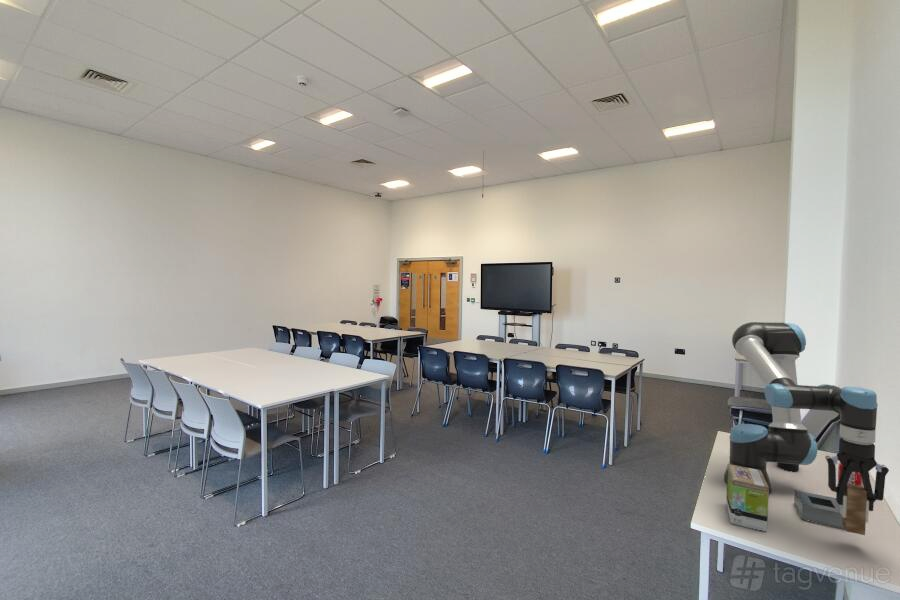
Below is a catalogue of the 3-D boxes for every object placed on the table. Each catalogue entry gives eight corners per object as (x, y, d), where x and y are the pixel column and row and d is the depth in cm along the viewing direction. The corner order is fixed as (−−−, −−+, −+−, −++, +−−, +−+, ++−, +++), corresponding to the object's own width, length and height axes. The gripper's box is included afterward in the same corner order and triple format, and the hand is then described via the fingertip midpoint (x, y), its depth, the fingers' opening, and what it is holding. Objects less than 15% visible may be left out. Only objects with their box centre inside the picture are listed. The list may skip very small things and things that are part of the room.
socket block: (801, 519, 136) (802, 504, 136) (794, 503, 146) (794, 490, 146) (850, 530, 130) (851, 515, 130) (839, 513, 140) (839, 498, 140)
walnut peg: (846, 531, 121) (848, 488, 121) (842, 524, 125) (843, 482, 124) (865, 535, 119) (866, 491, 119) (860, 528, 123) (861, 485, 122)
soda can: (869, 499, 150) (870, 466, 150) (846, 497, 152) (847, 465, 151) (854, 490, 157) (855, 459, 157) (832, 488, 158) (833, 457, 158)
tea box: (768, 533, 128) (769, 486, 128) (730, 524, 133) (731, 479, 133) (760, 511, 142) (761, 468, 141) (725, 503, 146) (726, 462, 146)
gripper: (822, 438, 122) (819, 515, 123) (903, 450, 113) (900, 533, 114) (815, 431, 129) (813, 504, 129) (892, 442, 120) (888, 520, 121)
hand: (853, 517), depth 122 cm, fingers closed on walnut peg, 4 cm apart
